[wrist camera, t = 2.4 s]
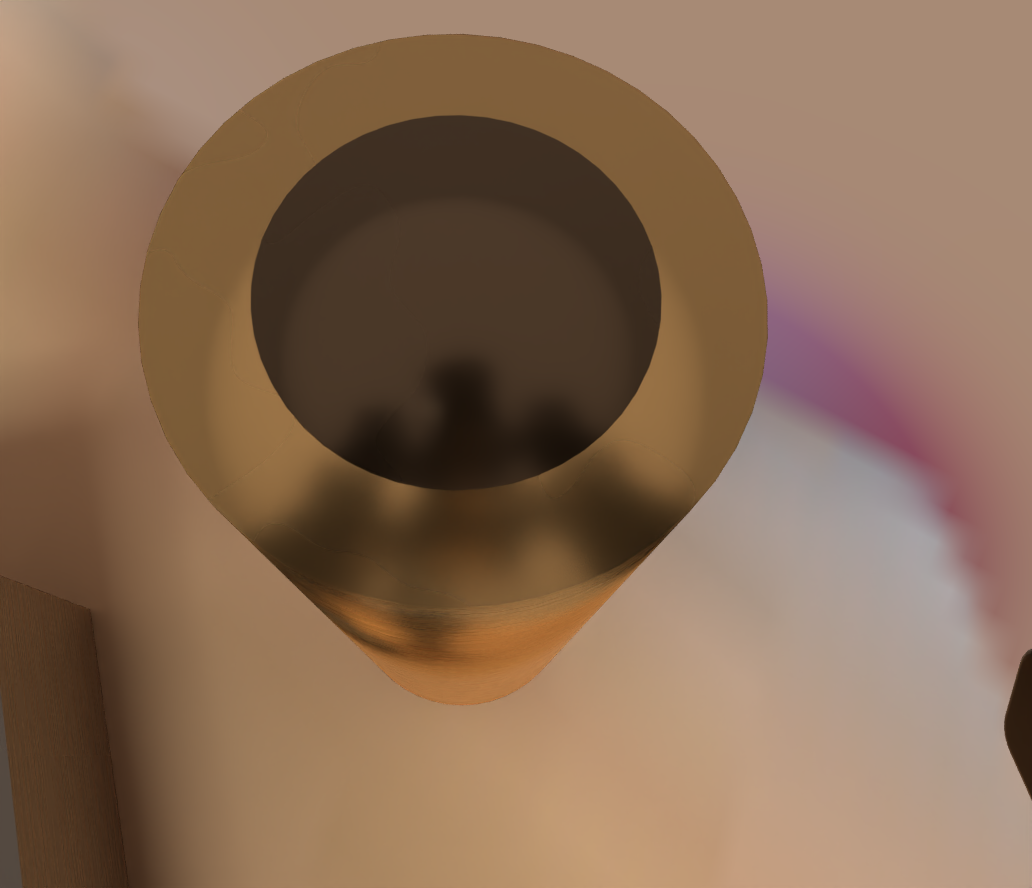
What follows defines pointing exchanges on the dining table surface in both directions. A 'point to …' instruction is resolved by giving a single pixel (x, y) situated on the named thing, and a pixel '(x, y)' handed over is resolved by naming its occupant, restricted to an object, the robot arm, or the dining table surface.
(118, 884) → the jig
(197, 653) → the dining table surface
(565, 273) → the bushing
